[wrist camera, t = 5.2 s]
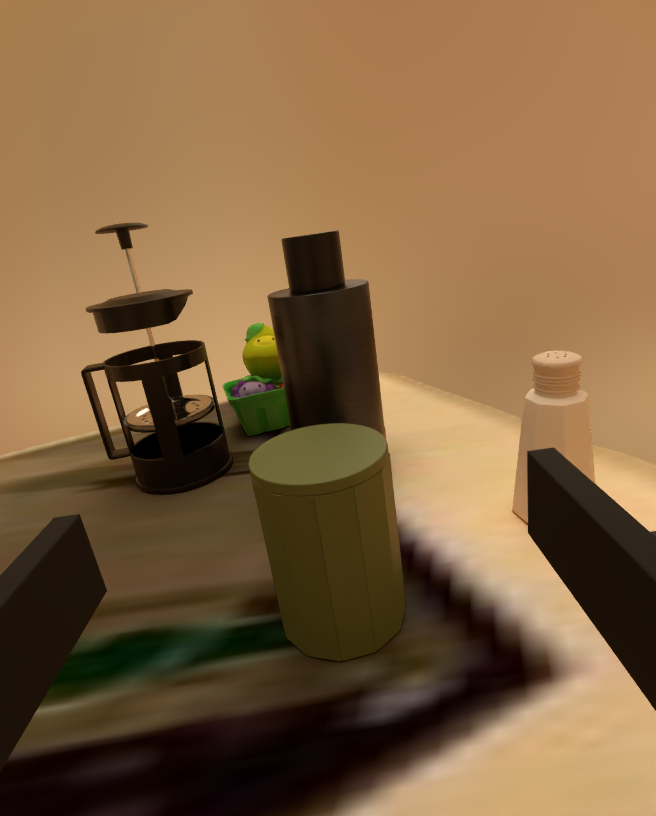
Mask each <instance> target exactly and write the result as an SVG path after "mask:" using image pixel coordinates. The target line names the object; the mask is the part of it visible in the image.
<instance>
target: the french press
mask: <svg viewBox="0 0 656 816" xmlns="http://www.w3.org/2000/svg"><path fill="white" fill-rule="evenodd" d="M146 227H148V226H147V225H146V224H142V223H123V224H116V225H110V226H106V227H103V228H100V229H98V230H97V231H96V232H95V233H96V234H104V233H114V232H116V233H117V237H118V240H119V243H120V246H121V249H125V251H126V255H127V259H128V262H129V266H130V270H131V273H132V277H133V281H134V285H135V288H136V292H137V293H135V294H130V295H125V296H120V297H116V298H112V299H109V300H107V301H106V302H104V303H101V304H97V305H93V306H90V307H87V308H86V311H87V312H90V313H91V312H93V315H94V318H95V321H96V325H97V328H98V331H99V333H118V332H125V331H133V330H140V329H145V328H146V330H147V333H148V336H149V341H150V345H151V346H147V347H142V348H139V349H134V350H131V351H127V352H124V353H121V354H118V355H116V356H113V357H111V358H109V359H107V360H105V361H104V362H103V363H99V364H93V365H89V366H86V367H85V368H84V369H83V370H82V372H81V374H82V378H83V381H84V384H85V387H86V390H87V393H88V396H89V399H90V402H91V405H92V409H93V412H94V415H95V418H96V421H97V424H98V427H99V431H100V434H101V437H102V440H103V443H104V446H105V449H106V452H107V455H108V458H109V459H111V460H113V459H118V458H123V457H128V456H131V459H132V462H133V466H134V469H135V472H136V484H137V486H138V488H139V489H140V490H142V491H144V492H146V493H151V494H171V493H177V492H183V491H187V490H190V489H194V488H197V487H200V486H202V485H205V484H207V483H209V482H211V481H213V480H215V479H217V478H218V477H220V476H221V475H223V474H224V473H225V472H226V471H227V470H228V469H229V468H230V467H231V465H232V463H233V456H232V453H231V452H230V451H229V449H228V444H227V440H226V435H225V431H224V427H223V422H222V418H221V414H220V409H219V405H218V401H217V397H216V392H215V388H214V384H213V379H212V375H211V370H210V366H209V362H208V357H207V353H206V348H205V344H204V342H202V341H196V340H189V341H176V342H168V343H163V344H156V345H155V343H154V340H153V336H152V332H151V327H155V326H160V325H164V324H169V323H170V322H172V321H174V320H176V319H177V317H178V316H179V314H180V313H181V311H182V309H183V308H184V306H185V304H186V301H187V298H188V296H189V295H191V294H193V292H192V290H170V289H163V290H155V291H148V292H141V291H140V287H139V283H138V279H137V275H136V272H135V268H134V264H133V260H132V256H131V253H130V248H132V243H131V239H130V234H129V231H130V230H136V229H141V228H146ZM179 354H182V355H179ZM173 355H179V356H176V357H173ZM150 359H154V360H155V362H150V363H145V364H138V365H132V364H135V363H138V362H142V361H146V360H150ZM204 361H205V364H206V369H207V373H208V377H209V382H210V386H211V390H212V395H213V398H212V397H210V396H205V395H187V396H183V395H182V390H181V387H180V382H179V378H178V375H177V372H180V371H183V370H186V369H189V368H192V367H194V366H196V365H198V364H201V363H202V362H204ZM129 365H130V366H129ZM98 370H105V374H106V377H107V380H108V384H109V387H110V390H111V393H112V397H113V400H114V403H115V406H116V410H117V413H118V416H119V420H120V423H121V426H122V429H123V433H124V436H125V439H126V443H127V446H128V448H123V449H118V450H117V449H115V448H114V445H113V442H112V439H111V436H110V433H109V430H108V426H107V423H106V420H105V417H104V414H103V411H102V407H101V404H100V401H99V398H98V395H97V391H96V388H95V385H94V382H93V379H92V376H91V372H93V371H98ZM138 380H142V384H143V387H144V391H145V395H146V398H147V402H148V405H146V406H143V407H141V408H139V409H136V410H135V411H133V412H131V413H130V414H128V415H127V416H125V412H124V409H123V405H122V402H121V399H120V395H119V392H118V389H117V385H116V382H125V381H126V382H127V381H138ZM214 403H215V406H214ZM214 408H216V412H217V416H218V421H219V424H217V423H213V422H195V421H197V420H199V419H201V418H203V417H205V416H207V415H208V414H209V413H211V412H212V411H213V409H214ZM130 430H131V431H134V432H142V433H147V432H154V433H152V434H149V435H147V436H146V437H144V438H142V439H140V440H139V441H137V442H136V443H135V444H134V442H133V439H132V435H131V432H130Z"/></svg>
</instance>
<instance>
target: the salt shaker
mask: <svg viewBox="0 0 656 816" xmlns="http://www.w3.org/2000/svg"><path fill="white" fill-rule="evenodd" d="M581 363H582V357H581V356H580V355H578V354H576V353H573V352H568V351H548V352H543V353H540V354H538V355H536V356H534V357H533V359H532V365H533V368H534V372H533V381H534V386H533V387H534V389H531V390H530V391H529V392H528V394H527V395H526V397H525V402H524V407H523V416H522V425H521V434H520V443H519V452H518V462H517V471H516V480H515V489H514V499H513V508H512V510H513V511H514V512H515V513H516V514H517V515H518V516H519V517H521V518H522V519H523V520H524V521H525V522H526V523H527V524H528V491H527V451H531V450H538V449H546V448H553V447H554V448H555V449H556V450H557V451H559V452H560V453H561V454H562V455H563V456H564V457H565V458H566V459H568V460H569V461H570V462H571V463H572V464H573V465H574V466H576V467H577V468H578V469H579V470H580V471H581V472H582V473H583V474H585V475H586V476H587V477H588V478H589V479H590V480H591V481H593V482H594V483H595V475H594V462H593V449H592V437H591V424H590V412H589V401H588V394H587V393H586V392H584V391H582V390H579V380H580V373H581V372H580V370H579V369H580V366H581Z"/></svg>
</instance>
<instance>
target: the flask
mask: <svg viewBox="0 0 656 816" xmlns="http://www.w3.org/2000/svg"><path fill="white" fill-rule="evenodd" d="M282 245H283V251H284V258H285V264H286V270H287V276H288V282H289V288H288V289H284V290H280V291H277V292H274V293H271V294H269V295H268V301H269V307H270V313H271V317H272V324H273V329H274V335H275V341H276V346H277V352H278V357H279V363H280V369H281V374H282V380H283V385H284V391H285V397H286V402H287V408H288V413H289V419H290V425H291V430H295V429H299V428H303V427H308V426H313V425H320V424H333V423H346V424H356V425H362V426H366V427H369V428H372V429H374V430H376V431H378V432H379V433H381V434H382V435H383V436H384V437H385V439H386V432H385V427H384V420H383V411H382V402H381V392H380V383H379V374H378V365H377V356H376V348H375V338H374V329H373V320H372V310H371V302H370V293H369V283H368V281H367V280H360V279H359V280H357V279H356V280H345V278H344V271H343V262H342V253H341V246H340V238H339V231H331V232H324V233H318V234H310V235H304V236H297V237H291V238H284V239H282Z"/></svg>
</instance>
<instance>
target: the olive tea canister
mask: <svg viewBox="0 0 656 816" xmlns="http://www.w3.org/2000/svg"><path fill="white" fill-rule="evenodd" d="M249 471H250V475H251V478H252V482H253V488H254V492H255V497H256V501H257V506H258V511H259V515H260V520H261V525H262V529H263V534H264V539H265V543H266V548H267V552H268V557H269V562H270V566H271V571H272V576H273V580H274V585H275V589H276V594H277V599H278V603H279V608H280V613H281V617H282V622H283V627H284V631H285V636H286V638H287V639H288V640H289V641H290V642H292V643H293V644H294V645H295V646H296V647H297V648H299V649H300V650H301V651H302V652H303V653H304V654H306V655H308V656H310V657H316V658H322V659H328V660H333V661H339V662H340V661H346V660H349V659H353V658H357V657H360V656H364V655H367V654H371V653H375V652H376V651H378V650H379V649H380V648H381V647H382V646H383V645H385V644H386V643H387V642H388V641H389V640H390V639H391V638H392V637H394V636H395V635H396V634H397V633H398V632H399V630H400V629H401V625H402V621H403V617H404V612H405V608H406V602H405V592H404V583H403V574H402V565H401V555H400V546H399V537H398V528H397V518H396V509H395V500H394V491H393V481H392V472H391V463H390V454H389V453H388V445H387V441H386V439H385V437H384V436H383V435H382V434H381V433H379V432H378V431H376V430H374V429H372V428H369V427H366V426H362V425H356V424H346V423H333V424H320V425H313V426H308V427H303V428H299V429H295V430H292V431H289V432H286V433H283V434H281V435H278V436H276V437H274V438H272V439H270V440H268V441H267V442H265V443H263V444H262V445H261V446H259V447H258V448H257V449H256V450H255V451H254V452H253V453H252V455H251V457H250V459H249Z"/></svg>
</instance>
